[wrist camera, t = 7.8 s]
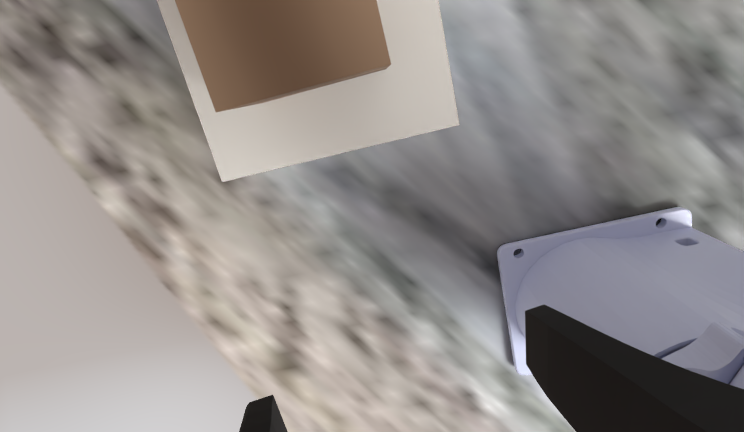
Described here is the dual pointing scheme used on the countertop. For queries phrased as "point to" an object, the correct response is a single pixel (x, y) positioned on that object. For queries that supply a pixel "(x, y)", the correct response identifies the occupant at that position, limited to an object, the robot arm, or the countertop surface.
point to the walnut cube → (281, 46)
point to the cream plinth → (332, 99)
